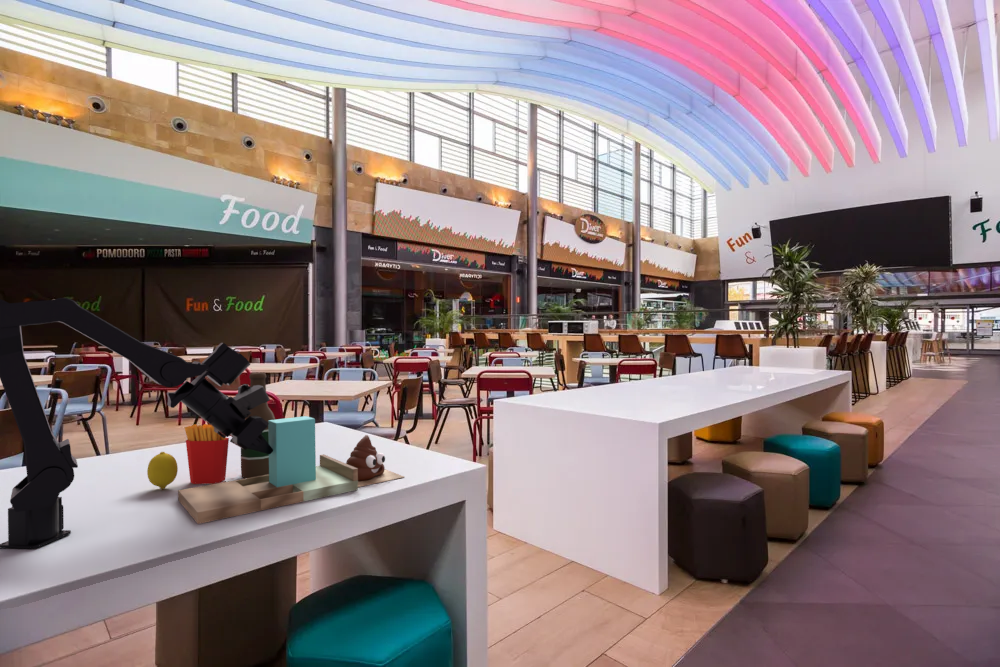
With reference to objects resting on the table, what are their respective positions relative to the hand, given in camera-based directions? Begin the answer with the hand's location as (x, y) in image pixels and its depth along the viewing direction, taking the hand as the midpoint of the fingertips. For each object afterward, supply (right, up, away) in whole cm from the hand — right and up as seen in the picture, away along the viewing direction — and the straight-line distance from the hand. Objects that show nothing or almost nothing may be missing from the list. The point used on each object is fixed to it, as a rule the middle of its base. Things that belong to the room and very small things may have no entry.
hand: (271, 452), depth 111 cm
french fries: (-19, -9, +11) cm, 24 cm away
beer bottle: (-10, -9, +16) cm, 21 cm away
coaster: (+16, -9, +13) cm, 22 cm away
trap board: (0, -9, 0) cm, 9 cm away
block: (+3, -7, +3) cm, 8 cm away
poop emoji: (+16, -9, +13) cm, 22 cm away
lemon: (-26, -9, +5) cm, 28 cm away
